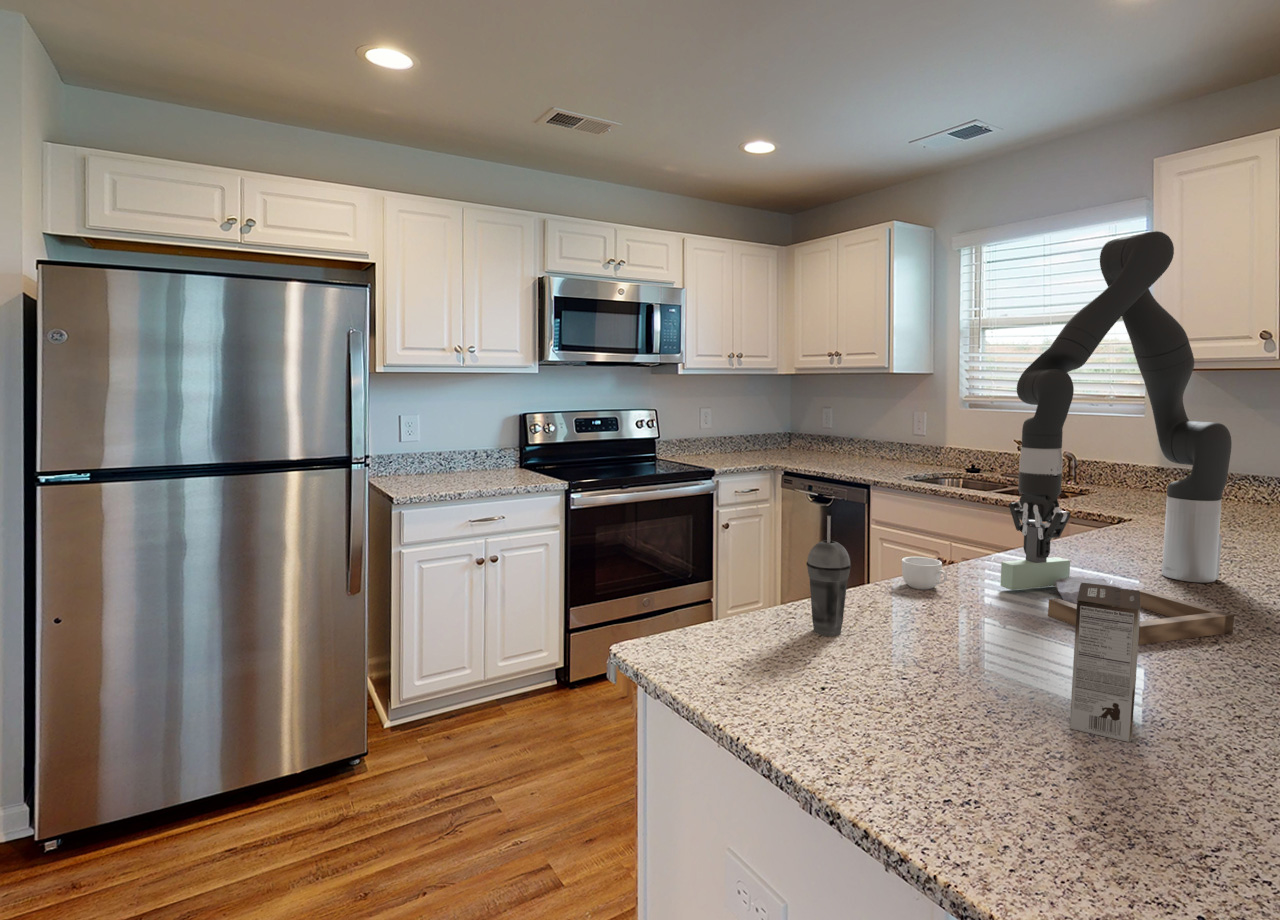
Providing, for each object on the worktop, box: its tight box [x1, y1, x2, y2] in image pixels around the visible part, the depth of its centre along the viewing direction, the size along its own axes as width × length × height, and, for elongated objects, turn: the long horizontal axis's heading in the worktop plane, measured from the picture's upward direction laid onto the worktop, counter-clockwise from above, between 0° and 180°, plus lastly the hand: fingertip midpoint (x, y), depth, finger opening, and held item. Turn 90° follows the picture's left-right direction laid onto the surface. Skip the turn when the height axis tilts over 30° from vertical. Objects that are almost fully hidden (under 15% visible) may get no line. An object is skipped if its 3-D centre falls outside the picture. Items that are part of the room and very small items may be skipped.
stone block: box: [1054, 576, 1122, 605], centre depth 140 cm, size 12×5×10 cm
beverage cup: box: [806, 515, 852, 637], centre depth 122 cm, size 7×7×20 cm
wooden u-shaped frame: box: [1047, 588, 1235, 646], centre depth 125 cm, size 22×16×3 cm
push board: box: [1000, 525, 1071, 591], centre depth 146 cm, size 14×3×12 cm, turn 105°
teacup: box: [901, 556, 948, 590], centre depth 149 cm, size 10×8×5 cm
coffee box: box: [1069, 583, 1141, 743], centre depth 89 cm, size 9×6×16 cm
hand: (1036, 555), depth 146 cm, fingers closed on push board, 2 cm apart
